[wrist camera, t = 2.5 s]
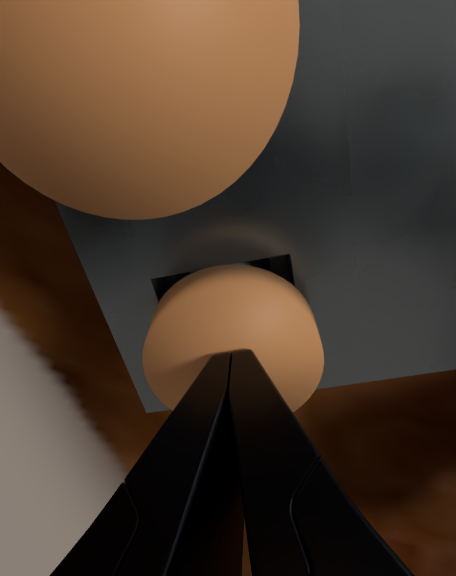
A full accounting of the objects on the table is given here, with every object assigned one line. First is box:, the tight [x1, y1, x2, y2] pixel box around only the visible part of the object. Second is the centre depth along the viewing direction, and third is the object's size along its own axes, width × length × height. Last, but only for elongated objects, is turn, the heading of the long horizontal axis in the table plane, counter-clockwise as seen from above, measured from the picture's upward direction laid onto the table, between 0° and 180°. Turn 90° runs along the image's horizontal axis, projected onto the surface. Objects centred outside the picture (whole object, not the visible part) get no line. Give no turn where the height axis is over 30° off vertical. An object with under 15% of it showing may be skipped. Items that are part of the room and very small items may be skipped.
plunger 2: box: [142, 258, 324, 412], centre depth 11 cm, size 4×4×4 cm
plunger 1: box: [0, 0, 300, 220], centre depth 6 cm, size 4×4×4 cm
